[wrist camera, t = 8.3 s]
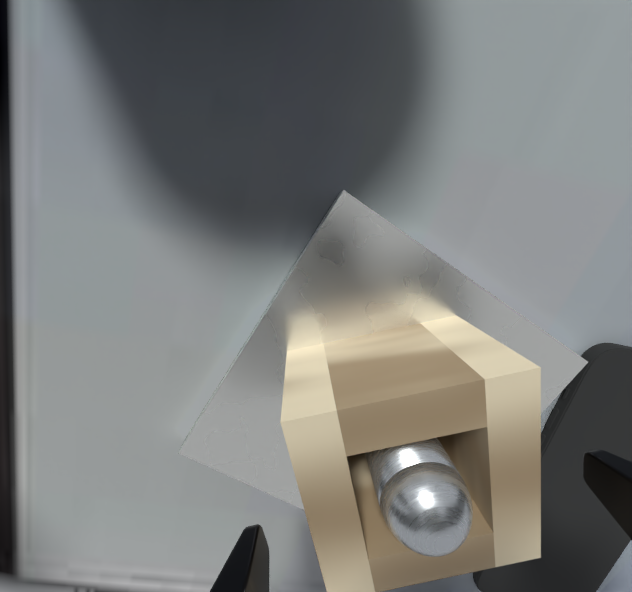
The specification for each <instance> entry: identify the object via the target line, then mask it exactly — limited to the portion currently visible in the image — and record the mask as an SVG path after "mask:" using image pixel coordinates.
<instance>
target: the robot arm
mask: <svg viewBox="0 0 632 592" xmlns="http://www.w3.org/2000/svg"><path fill="white" fill-rule="evenodd" d="M583 478H584V480H585V482H586V484H587V485H588V487H589V488H590V489H591V491H592V492H593V493H594V494H595V495H596V497H597V498H598V499H599V500H600V502H601V503H602V504H603V505H604V507H605V508H606V509H607V510H608V512H609V513H610V514H611V515H612V517H613V518H614V519H615V520H616V522H617V523H618V524H619V525H620V526H621V528H622V529H623V530H624V531H625V533H626V534H627V535H628V536H629V538H630V539H631V540H632V462H631V461H629V460H626V459H624V458H622V457H619V456H617V455H615V454H612V453H610V452H607V451H605V450H601V449H596V450H592V451H587V452H585V453H584V455H583ZM210 592H269V548H268V544H267V541H266V538H265V535H264V532H263V529H262V527H261V526H260V525H258V524H257V525H253V526H248V527H246V528H245V529H244V530H243V532H242V534H241V536H240V538H239V539H238V541H237V543H236V545H235V547H234V549H233V550H232V552H231V554H230V556H229V558H228V559H227V561H226V563H225V565H224V567H223V569H222V570H221V572H220V574H219V576H218V578H217V579H216V581H215V583H214V585H213V587H212V589H211V590H210Z"/></svg>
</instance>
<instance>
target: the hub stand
mask: <svg viewBox="0 0 632 592" xmlns="http://www.w3.org/2000/svg"><path fill="white" fill-rule="evenodd" d="M452 316H458V317H460V318H461V319H463V320H465V321H466V322H468V323H470V324H471V325H473V326H474V327H476V328H478V329H479V330H481V331H482V332H484V333H486V334H487V335H489V336H491V337H492V338H494V339H495V340H497V341H499V342H500V343H502V344H504V345H505V346H507V347H508V348H510V349H512V350H513V351H515V352H516V353H518V354H520V355H521V356H523V357H525V358H526V359H528V360H529V361H531V362H533V363H534V364H536V365H538V366H539V367H541V414H542V412H543V411H544V410H545V409H546V408H547V407H548V406H549V405H550V404H551V403H552V401H553V400H554V399H555V398H556V397H557V396H558V395H559V394H560V393H561V392H562V390H563V389H564V388H565V387H566V386H567V385H568V384H569V383H570V382H571V381H572V380H573V378H574V377H575V376H576V375H577V374H578V373H579V372H580V371H581V370H582V369H583V367H584V366H585V365H586V364H587V363H588V361H586V360H585V359H584V358H582V357H581V356H579V355H578V354H576V353H575V352H574V351H572V350H571V349H569V348H568V347H566V346H565V345H564V344H562V343H561V342H559V341H558V340H557V339H555V338H554V337H552V336H551V335H549V334H548V333H547V332H545V331H544V330H542V329H541V328H539V327H538V326H537V325H535V324H534V323H532V322H531V321H529V320H528V319H527V318H525V317H524V316H522V315H521V314H520V313H518V312H517V311H515V310H514V309H512V308H511V307H510V306H508V305H507V304H505V303H504V302H502V301H501V300H500V299H498V298H497V297H495V296H494V295H493V294H491V293H490V292H488V291H487V290H485V289H484V288H483V287H481V286H480V285H478V284H477V283H475V282H474V281H473V280H471V279H470V278H468V277H467V276H465V275H464V274H463V273H461V272H460V271H458V270H457V269H456V268H454V267H453V266H451V265H450V264H448V263H447V262H446V261H444V260H443V259H441V258H440V257H438V256H437V255H436V254H434V253H433V252H431V251H430V250H428V249H427V248H426V247H424V246H423V245H421V244H420V243H419V242H417V241H416V240H414V239H413V238H411V237H410V236H409V235H407V234H406V233H404V232H403V231H401V230H400V229H399V228H397V227H396V226H394V225H393V224H392V223H390V222H389V221H387V220H386V219H384V218H383V217H382V216H380V215H379V214H377V213H376V212H374V211H373V210H372V209H370V208H369V207H367V206H366V205H364V204H363V203H362V202H360V201H359V200H357V199H356V198H355V197H353V196H352V195H350V194H349V193H347V192H346V191H345V190H343V191H341V192H340V193H339V195H338V196H337V198H336V199H335V201H334V202H333V204H332V206H331V207H330V209H329V210H328V212H327V214H326V215H325V217H324V218H323V220H322V222H321V223H320V225H319V226H318V228H317V230H316V231H315V233H314V234H313V236H312V238H311V239H310V241H309V242H308V244H307V245H306V247H305V249H304V250H303V252H302V253H301V255H300V257H299V258H298V260H297V261H296V263H295V265H294V266H293V268H292V269H291V271H290V273H289V274H288V276H287V277H286V279H285V280H284V282H283V284H282V285H281V287H280V288H279V290H278V292H277V293H276V295H275V296H274V298H273V300H272V301H271V303H270V304H269V306H268V308H267V309H266V311H265V312H264V314H263V316H262V317H261V319H260V320H259V322H258V323H257V325H256V327H255V328H254V330H253V331H252V333H251V335H250V336H249V338H248V339H247V341H246V343H245V344H244V346H243V347H242V349H241V351H240V352H239V354H238V355H237V357H236V358H235V360H234V362H233V363H232V365H231V366H230V368H229V370H228V371H227V373H226V374H225V376H224V378H223V379H222V381H221V382H220V384H219V386H218V387H217V389H216V390H215V392H214V393H213V395H212V397H211V398H210V400H209V401H208V403H207V405H206V406H205V408H204V409H203V411H202V413H201V414H200V416H199V417H198V419H197V421H196V422H195V424H194V425H193V427H192V429H191V430H190V432H189V433H188V435H187V437H186V439H185V441H184V442H183V444H182V446H181V448H180V450H179V452H178V454H180V455H183V456H185V457H187V458H189V459H192V460H194V461H196V462H198V463H200V464H203V465H205V466H207V467H209V468H212V469H214V470H216V471H218V472H220V473H223V474H225V475H227V476H229V477H232V478H234V479H236V480H238V481H240V482H243V483H245V484H247V485H249V486H252V487H254V488H256V489H258V490H261V491H263V492H265V493H267V494H269V495H272V496H274V497H276V498H278V499H281V500H283V501H285V502H287V503H289V504H292V505H294V506H296V507H298V508H301V509H303V510H304V506H303V503H302V499H301V495H300V492H299V488H298V485H297V481H296V477H295V474H294V470H293V466H292V463H291V459H290V455H289V452H288V448H287V444H286V441H285V437H284V434H283V430H282V426H281V423H280V421H281V410H282V400H283V389H284V378H285V367H286V356H287V351H290V350H295V349H300V348H304V347H309V346H314V345H319V344H324V343H328V342H333V341H338V340H343V339H347V338H352V337H357V336H362V335H366V334H371V333H376V332H381V331H385V330H390V329H395V328H400V327H404V326H409V325H414V324H419V323H423V322H428V321H433V320H438V319H442V318H447V317H452ZM365 455H366V459H367V463H368V466H369V470H370V473H371V477H372V480H373V484H374V488H375V491H376V495H377V498H378V502H379V505H380V509H381V512H382V515H383V518H384V520H385V522H386V524H387V526H388V528H389V529H390V530H391V532H392V533H393V535H394V536H395V537H396V538H397V539H398V540H399V541H400V542H401V543H402V544H403V545H404V546H406V547H407V548H409V549H410V550H412V551H414V552H416V553H418V554H421V555H424V556H430V557H440V556H445V555H448V554H450V553H452V552H454V551H455V550H457V549H458V548H459V547H460V546H461V545H462V544H463V543H464V541H465V540H466V538H467V536H468V534H469V532H470V529H471V525H472V518H473V508H472V501H471V497H470V494H469V491H468V488H467V486H466V484H465V482H464V480H463V478H462V477H461V475H460V473H459V472H458V470H457V469H456V467H455V465H454V464H453V462H452V461H451V459H450V457H449V456H448V454H447V453H446V451H445V450H444V448H443V446H442V445H441V443H440V442H439V440H438V438H432V439H427V440H423V441H418V442H413V443H408V444H404V445H399V446H394V447H389V448H385V449H380V450H375V451H371V452H366V453H365Z"/></svg>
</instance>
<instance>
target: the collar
mask: <svg viewBox="0 0 632 592" xmlns="http://www.w3.org/2000/svg"><path fill="white" fill-rule="evenodd" d="M280 423H281V426H282V430H283V434H284V437H285V441H286V444H287V448H288V452H289V455H290V459H291V463H292V466H293V470H294V474H295V477H296V481H297V485H298V488H299V492H300V495H301V499H302V503H303V506H304V510H305V514H306V517H307V521H308V525H309V528H310V532H311V536H312V539H313V543H314V546H315V550H316V554H317V557H318V561H319V565H320V568H321V572H322V576H323V579H324V583H325V587H326V590H327V592H382V591H386V590H391V589H396V588H400V587H405V586H410V585H415V584H419V583H424V582H429V581H433V580H438V579H443V578H448V577H452V576H457V575H462V574H466V573H471V572H476V571H481V570H485V569H490V568H495V567H499V566H504V565H509V564H514V563H518V562H523V561H528V560H533V559H537V558H541V367H539V366H538V365H536V364H534V363H533V362H531V361H529V360H528V359H526V358H525V357H523V356H521V355H520V354H518V353H516V352H515V351H513V350H512V349H510V348H508V347H507V346H505V345H504V344H502V343H500V342H499V341H497V340H495V339H494V338H492V337H491V336H489V335H487V334H486V333H484V332H482V331H481V330H479V329H478V328H476V327H474V326H473V325H471V324H470V323H468V322H466V321H465V320H463V319H461V318H460V317H458V316H452V317H447V318H442V319H438V320H433V321H428V322H423V323H419V324H414V325H409V326H404V327H400V328H395V329H390V330H385V331H381V332H376V333H371V334H366V335H362V336H357V337H352V338H347V339H343V340H338V341H333V342H328V343H324V344H319V345H314V346H309V347H304V348H300V349H295V350H290V351H287V356H286V367H285V378H284V389H283V400H282V410H281V421H280ZM432 438H438V440H439V442H440V443H441V445H442V446H443V448H444V450H445V451H446V453H447V454H448V456H449V457H450V459H451V461H452V462H453V464H454V465H455V467H456V469H457V470H458V472H459V473H460V475H461V477H462V478H463V480H464V482H465V484H466V486H467V488H468V491H469V494H470V497H471V501H472V508H473V518H472V525H471V529H470V532H469V534H468V536H467V538H466V540H465V541H464V543H463V544H462V545H461V546H460V547H459V548H458V549H457V550H455V551H454V552H452V553H450V554H448V555H445V556H440V557H430V556H424V555H421V554H418V553H416V552H414V551H412V550H410V549H409V548H407V547H406V546H404V545H403V544H402V543H401V542H400V541H399V540H398V539H397V538H396V537H395V536H394V535H393V533H392V532H391V530H390V529H389V528H388V526H387V524H386V522H385V520H384V518H383V515H382V512H381V509H380V505H379V502H378V498H377V495H376V491H375V488H374V484H373V480H372V477H371V473H370V470H369V466H368V463H367V459H366V455H365V453H366V452H371V451H375V450H380V449H385V448H389V447H394V446H399V445H404V444H408V443H413V442H418V441H423V440H427V439H432Z"/></svg>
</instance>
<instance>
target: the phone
mask: <svg viewBox="0 0 632 592" xmlns="http://www.w3.org/2000/svg"><path fill="white" fill-rule="evenodd" d="M581 357H582V358H584V359H585V360H586V361H588V363H587V364H586V365H585V366H584V367H583V369H582V370H581V371H580V372H579V373H578V374H577V375H576V376H575V377H574V378H573V380H572V381H571V382H570V383H569V384H568V385H567V386H566V387H565V388H564V389H563V391H562V393H561V395H560V397H559V399H558V401H557V403H556V405H555V407H554V409H553V411H552V413H551V415H550V417H549V419H548V421H547V423H546V425H545V427H544V429H543V431H542V433H541V558H537V559H533V560H528V561H523V562H518V563H514V564H509V565H504V566H499V567H495V568H490V569H485V570H481V571H476V572H474V573H473V578H474V581H475V583H476V585H477V587H478V589H479V590H480V591H482V592H596V591H597V589H598V588H599V586H600V585H601V584H602V582H603V581H604V579H605V578H606V576H607V575H608V573H609V572H610V570H611V569H612V567H613V566H614V564H615V563H616V561H617V560H618V558H619V557H620V555H621V554H622V552H623V551H624V549H625V548H626V546H627V545H628V543H629V542H630V540H631V539H630V538H629V536H628V535H627V534H626V533H625V531H624V530H623V529H622V528H621V526H620V525H619V524H618V523H617V522H616V520H615V519H614V518H613V517H612V515H611V514H610V513H609V512H608V510H607V509H606V508H605V507H604V505H603V504H602V503H601V502H600V500H599V499H598V498H597V497H596V495H595V494H594V493H593V492H592V491H591V489H590V488H589V487H588V485H587V484H586V482H585V480H584V478H583V455H584V453H585V452H587V451H592V450H596V449H601V450H605V451H607V452H610V453H612V454H615V455H617V456H619V457H622V458H624V459H626V460H629V461H631V462H632V347H628V346H623V345H618V344H613V343H601V344H597V345H595V346H592V347H591V348H589V349H588V350H587V351H585V352H584V353H583V354H582V356H581Z"/></svg>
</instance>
